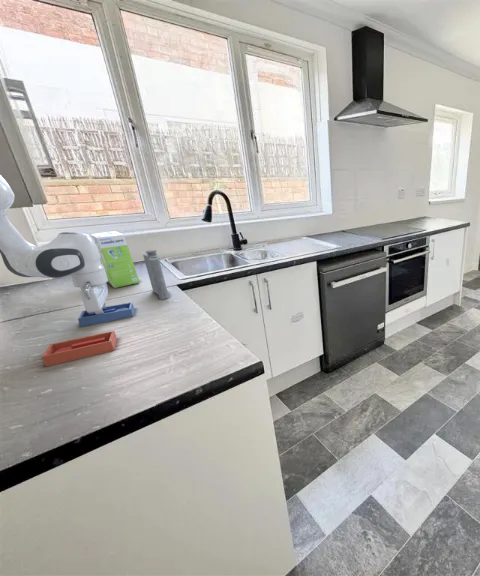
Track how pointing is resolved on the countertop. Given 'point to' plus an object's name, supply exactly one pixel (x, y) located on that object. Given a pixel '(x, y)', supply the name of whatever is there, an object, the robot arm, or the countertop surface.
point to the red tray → (81, 352)
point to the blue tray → (107, 315)
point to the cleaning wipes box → (115, 258)
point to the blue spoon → (107, 311)
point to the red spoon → (81, 344)
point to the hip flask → (155, 274)
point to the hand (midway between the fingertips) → (102, 315)
